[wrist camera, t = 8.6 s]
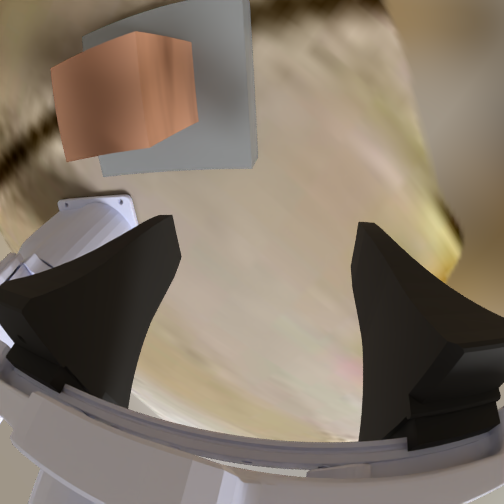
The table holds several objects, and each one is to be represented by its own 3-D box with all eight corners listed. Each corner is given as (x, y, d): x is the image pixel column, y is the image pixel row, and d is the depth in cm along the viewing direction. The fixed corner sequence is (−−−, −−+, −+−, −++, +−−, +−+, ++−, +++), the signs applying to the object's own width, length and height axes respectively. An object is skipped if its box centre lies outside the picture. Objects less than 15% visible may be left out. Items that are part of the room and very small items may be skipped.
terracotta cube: (127, 131, 16) (66, 162, 11) (118, 60, 13) (50, 68, 8) (198, 121, 15) (149, 147, 10) (191, 42, 12) (135, 31, 7)
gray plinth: (120, 165, 20) (103, 176, 18) (103, 36, 14) (82, 36, 12) (257, 157, 18) (252, 168, 16) (249, 1, 12) (241, -9, 10)
